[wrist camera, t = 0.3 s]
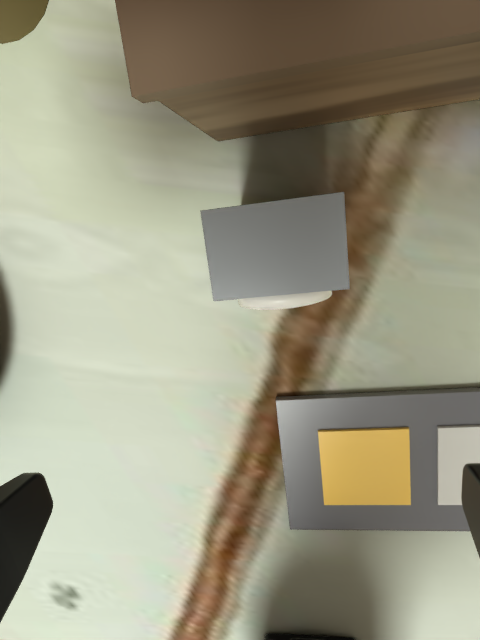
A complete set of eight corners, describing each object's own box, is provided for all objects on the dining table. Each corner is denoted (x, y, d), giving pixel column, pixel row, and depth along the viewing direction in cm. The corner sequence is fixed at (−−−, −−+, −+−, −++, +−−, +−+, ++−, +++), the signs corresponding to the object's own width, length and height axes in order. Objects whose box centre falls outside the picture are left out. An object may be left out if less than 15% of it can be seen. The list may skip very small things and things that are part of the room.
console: (657, 75, 18) (1131, -92, 7) (214, 146, 21) (131, 96, 11) (674, -60, 16) (1271, -479, 6) (200, 39, 20) (92, -129, 10)
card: (568, 525, 24) (575, 534, 23) (290, 523, 27) (290, 531, 26) (582, 382, 22) (591, 388, 21) (276, 396, 24) (275, 402, 24)
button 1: (333, 266, 21) (350, 307, 13) (248, 275, 22) (216, 317, 14) (328, 194, 21) (343, 191, 12) (240, 206, 21) (200, 210, 13)
